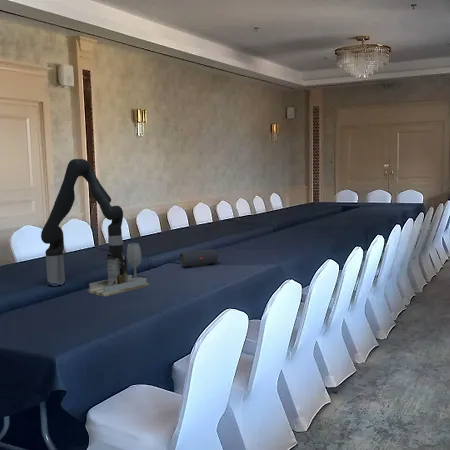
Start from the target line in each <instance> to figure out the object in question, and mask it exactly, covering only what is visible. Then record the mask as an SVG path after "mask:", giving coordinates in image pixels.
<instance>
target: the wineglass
mask: <svg viewBox="0 0 450 450" xmlns="http://www.w3.org/2000/svg"><path fill="white" fill-rule="evenodd" d="M140 246H141V245H140V243H139V242H132V243H128V244H127V247H126V248H127V249H126V261H127V263H128V264H129V265H130V266H131V267H132V268H133V277H132V280H138V279H142V278H143V277H141V276H139V277H138V276H137V274H138V272H137V267H138V266H139V265H141V262H142V257H143V256H142V251H141V247H140Z"/></svg>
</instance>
